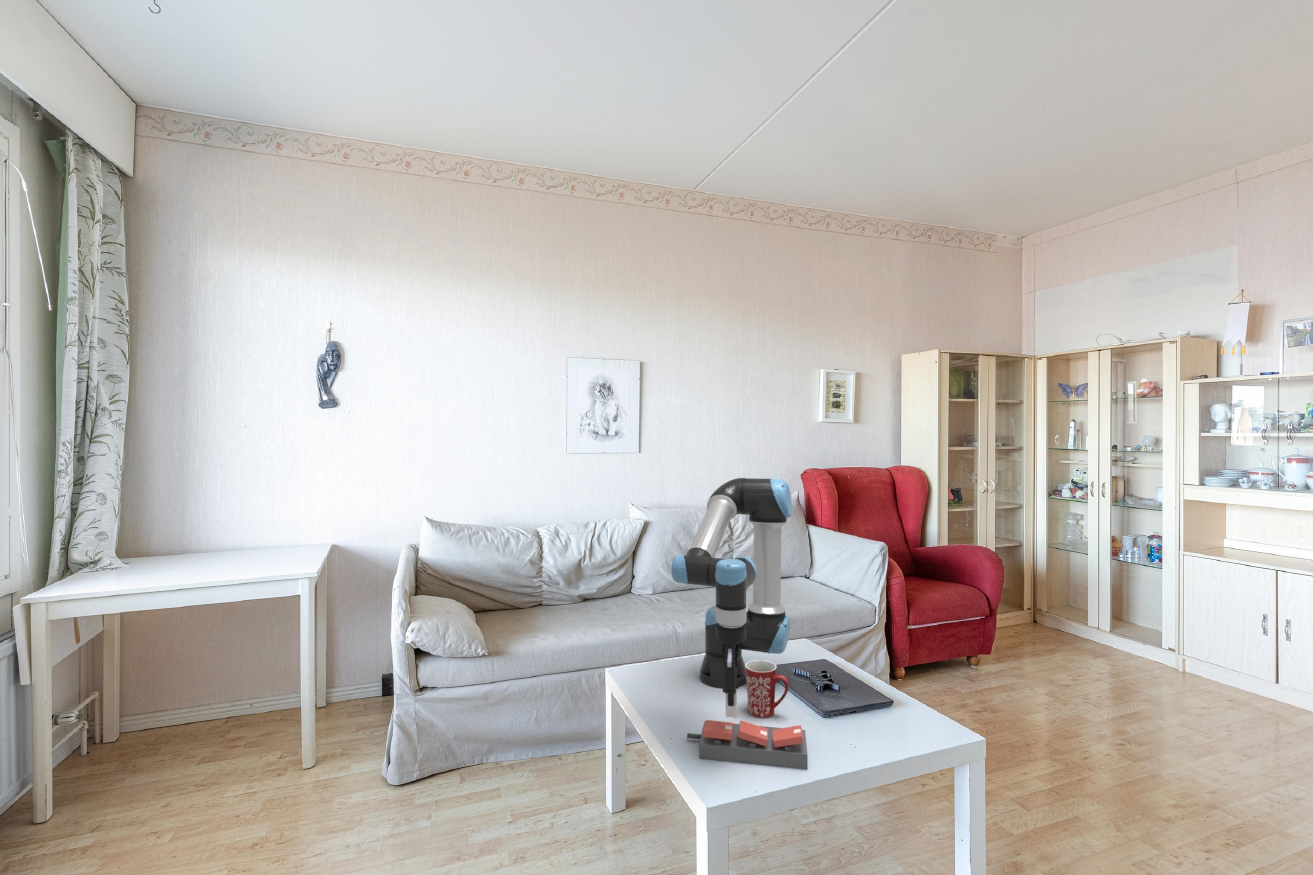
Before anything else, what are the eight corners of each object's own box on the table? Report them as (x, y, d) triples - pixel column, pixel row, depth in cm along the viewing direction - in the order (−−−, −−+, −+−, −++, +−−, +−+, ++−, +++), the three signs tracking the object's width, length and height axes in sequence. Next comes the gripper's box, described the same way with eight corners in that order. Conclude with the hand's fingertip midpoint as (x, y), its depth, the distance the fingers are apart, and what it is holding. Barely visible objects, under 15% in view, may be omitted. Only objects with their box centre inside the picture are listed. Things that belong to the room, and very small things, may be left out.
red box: (738, 725, 158) (740, 719, 158) (766, 734, 156) (767, 728, 156) (737, 736, 152) (739, 730, 152) (765, 746, 151) (767, 739, 151)
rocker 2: (774, 735, 156) (773, 729, 156) (802, 731, 155) (800, 724, 155) (774, 747, 150) (772, 740, 151) (803, 742, 149) (801, 735, 149)
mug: (739, 714, 176) (739, 667, 176) (753, 702, 184) (753, 656, 183) (780, 726, 169) (781, 677, 169) (793, 713, 177) (794, 666, 176)
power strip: (689, 732, 166) (689, 715, 166) (805, 743, 160) (805, 725, 160) (682, 756, 154) (682, 738, 154) (807, 769, 148) (807, 750, 148)
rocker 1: (705, 725, 159) (705, 719, 159) (733, 728, 158) (733, 722, 158) (703, 736, 154) (703, 730, 154) (731, 739, 152) (731, 733, 152)
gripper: (718, 613, 162) (718, 702, 163) (713, 631, 149) (713, 727, 150) (747, 615, 160) (747, 704, 161) (744, 633, 147) (745, 730, 148)
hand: (731, 715), depth 156 cm, fingers closed
